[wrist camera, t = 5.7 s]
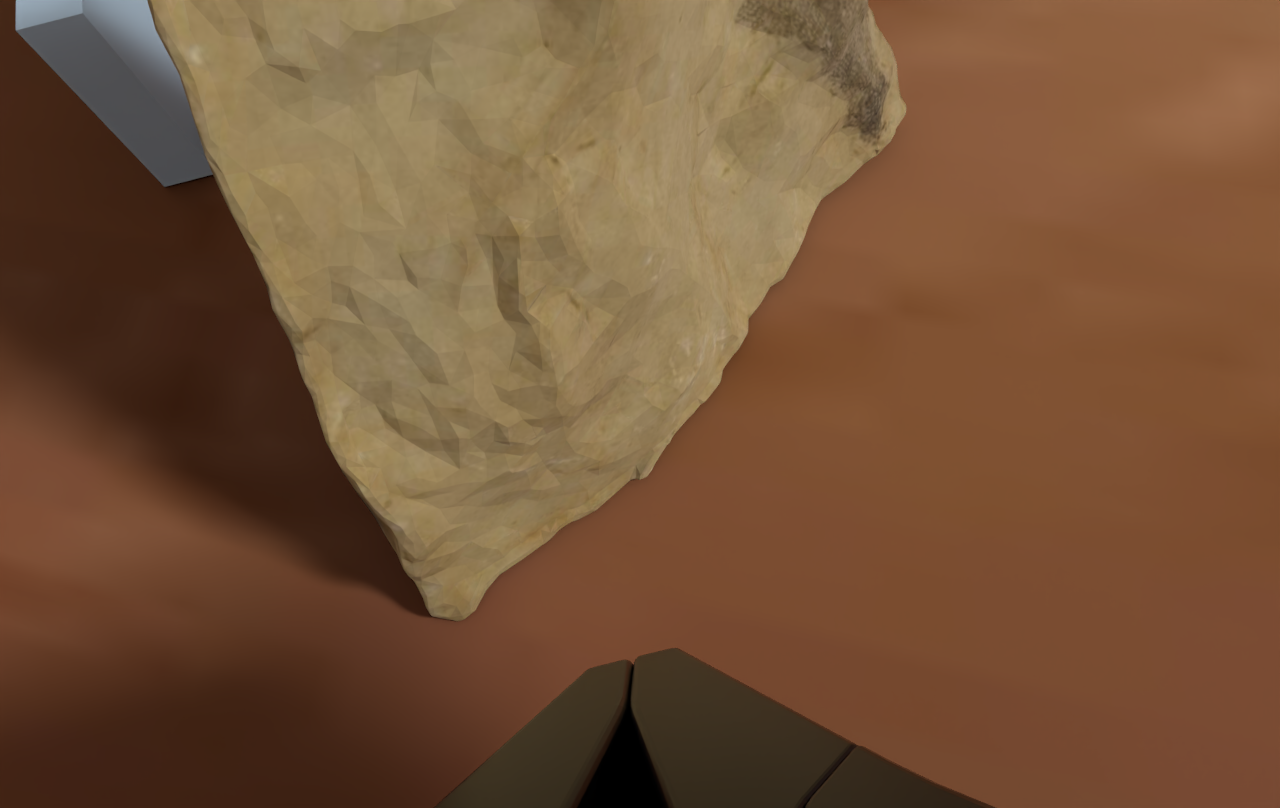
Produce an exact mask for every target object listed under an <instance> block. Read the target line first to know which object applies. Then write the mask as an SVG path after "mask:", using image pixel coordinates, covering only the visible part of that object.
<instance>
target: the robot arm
mask: <svg viewBox="0 0 1280 808" xmlns="http://www.w3.org/2000/svg"><path fill="white" fill-rule="evenodd" d="M434 808H995V807H993V806H991V805H988V804H986V803H983V802H981V801H978V800H976V799H974V798H971V797H969V796H966V795H964V794H961V793H959V792H957V791H954V790H952V789H949V788H947V787H944V786H942V785H939V784H937V783H935V782H933V781H931V780H929V779H927V778H925V777H923V776H921V775H919V774H916V773H914V772H912V771H910V770H908V769H906V768H904V767H902V766H900V765H898V764H896V763H894V762H892V761H890V760H888V759H886V758H884V757H882V756H880V755H879V754H877V753H875V752H873V751H871V750H869V749H867V748H866V747H863V746H858V745H856V744H855V743H853V742H851V741H849V740H847V739H845V738H843V737H842V736H840V735H838V734H836V733H834V732H832V731H831V730H829V729H827V728H825V727H823V726H821V725H819V724H818V723H816V722H814V721H812V720H810V719H808V718H806V717H805V716H803V715H801V714H799V713H797V712H795V711H793V710H792V709H790V708H788V707H786V706H784V705H782V704H780V703H779V702H777V701H775V700H773V699H771V698H769V697H767V696H766V695H764V694H762V693H760V692H758V691H756V690H754V689H753V688H751V687H749V686H747V685H745V684H743V683H741V682H740V681H738V680H736V679H734V678H732V677H730V676H728V675H727V674H725V673H723V672H721V671H719V670H717V669H715V668H714V667H712V666H710V665H708V664H706V663H704V662H703V661H701V660H699V659H697V658H695V657H693V656H691V655H690V654H688V653H686V652H684V651H682V650H680V649H677V648H671V649H667V650H662V651H658V652H654V653H650V654H646V655H641V656H639V657H637V659H636V660H635V662H634V665H633V664H632V663H631V662H630V661H629V660H621V661H617V662H613V663H609V664H605V665H601V666H597V667H593V668H590V669H588V670H587V671H586V672H584V673H583V674H582V675H581V676H580V677H579V678H578V679H577V680H576V681H574V682H573V683H572V684H571V685H570V686H569V687H568V688H567V689H566V690H564V691H563V692H562V693H561V694H560V695H559V696H558V697H557V698H555V699H554V700H553V701H552V702H551V703H550V704H549V705H548V706H547V707H545V708H544V709H543V710H542V711H541V712H540V713H539V714H538V715H536V716H535V717H534V718H533V719H532V720H531V721H530V722H529V723H528V724H526V725H525V726H524V727H523V728H522V729H521V730H520V731H519V732H518V733H516V734H515V735H514V736H513V737H512V738H511V739H510V740H509V741H507V742H506V743H505V744H504V745H503V746H502V747H501V748H500V749H499V750H497V751H496V752H495V753H494V754H493V755H492V756H491V757H490V758H489V759H487V760H486V761H485V762H484V763H483V764H482V765H481V766H480V767H478V768H477V769H476V770H475V771H474V772H473V773H472V774H471V775H470V776H468V777H467V778H466V779H465V780H464V781H463V782H462V783H461V784H460V785H458V786H457V787H456V788H455V789H454V790H453V791H452V792H451V793H449V794H448V795H447V796H446V797H445V798H444V799H443V800H442V801H441V802H439V803H438V804H437V805H436V806H435V807H434Z"/></svg>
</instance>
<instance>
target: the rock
mask: <svg viewBox="0 0 1280 808" xmlns="http://www.w3.org/2000/svg"><path fill="white" fill-rule="evenodd" d="M147 1H148V5H149V8H150V12H151V15H152V19H153V22H154V26H155V29H156V32H157V34H158V35H159V37H160V39H161V41H162V43H163V45H164V47H165V49H166V51H167V53H168V54H169V56H170V58H171V60H172V62H173V64H174V66H175V68H176V70H177V71H178V73H179V76H180V79H181V82H182V85H183V88H184V91H185V94H186V97H187V100H188V103H189V107H190V110H191V113H192V116H193V119H194V122H195V125H196V128H197V131H198V134H199V138H200V141H201V144H202V147H203V150H204V153H205V156H206V159H207V161H208V164H209V166H210V169H211V171H212V173H213V176H214V178H215V180H216V182H217V184H218V187H219V189H220V191H221V193H222V195H223V197H224V200H225V202H226V204H227V206H228V208H229V210H230V212H231V214H232V216H233V218H234V220H235V222H236V224H237V226H238V227H239V229H240V231H241V233H242V235H243V237H244V239H245V241H246V243H247V244H248V246H249V248H250V250H251V252H252V254H253V256H254V258H255V260H256V262H257V265H258V267H259V269H260V272H261V274H262V277H263V279H264V282H265V284H266V287H267V290H268V294H269V298H270V302H271V306H272V310H273V311H274V313H275V315H276V317H277V319H278V320H279V322H280V324H281V326H282V328H283V330H284V331H285V333H286V335H287V337H288V339H289V341H290V343H291V345H292V348H293V351H294V354H295V358H296V361H297V364H298V367H299V370H300V373H301V376H302V379H303V381H304V383H305V385H306V387H307V389H308V391H309V392H310V394H311V396H312V399H313V403H314V406H315V410H316V413H317V416H318V419H319V422H320V425H321V428H322V431H323V434H324V437H325V440H326V443H327V445H328V447H329V448H330V450H331V452H332V454H333V455H334V457H335V459H336V461H337V463H338V464H339V466H340V468H341V471H342V473H343V474H344V475H345V477H346V478H347V479H348V481H349V482H350V484H351V485H352V486H353V488H354V489H355V491H356V492H357V494H358V495H359V496H360V498H361V499H362V500H363V502H364V503H365V505H366V506H367V507H368V509H369V510H370V512H371V513H372V514H373V516H374V517H375V519H376V520H377V522H378V524H379V526H380V527H381V529H382V531H383V532H384V534H385V536H386V538H387V539H388V541H389V542H390V544H391V546H392V547H393V549H394V550H395V552H396V553H397V555H398V558H399V560H400V563H401V565H402V568H403V569H404V571H405V572H406V574H407V575H408V576H409V577H410V578H411V579H412V580H413V581H414V582H415V584H416V586H417V588H418V590H419V592H420V593H421V595H422V597H423V600H424V603H425V606H426V608H427V610H428V612H429V613H430V615H431V616H434V617H437V618H442V619H448V620H454V621H460V620H463V619H465V618H466V617H468V616H469V615H470V614H472V613H473V612H474V611H475V610H476V608H477V606H478V605H479V603H480V601H481V599H482V597H483V595H484V594H485V592H486V590H487V589H488V588H489V586H490V585H491V584H492V583H493V582H494V580H495V579H496V578H497V577H498V576H499V575H500V574H501V573H503V572H504V571H506V570H507V569H509V568H510V567H512V566H513V565H515V564H516V563H518V562H519V561H521V560H522V559H524V558H525V557H526V556H528V555H529V554H531V553H532V552H533V551H535V550H536V549H538V548H539V547H540V546H542V545H543V544H545V543H546V542H547V541H549V540H550V539H551V538H552V537H553V536H554V535H555V534H556V533H557V532H558V531H559V530H560V529H561V528H563V527H564V526H566V525H567V524H569V523H570V522H572V521H577V520H579V519H581V518H582V517H584V516H586V515H588V514H590V513H592V512H594V511H596V510H597V509H598V508H599V507H600V506H601V505H603V504H604V503H605V502H606V501H607V500H608V499H609V498H611V497H612V496H613V495H614V494H615V493H616V492H617V491H618V490H620V489H621V488H622V487H623V486H624V485H625V484H626V483H627V482H629V481H630V480H632V479H639V480H640V479H642V478H645V477H647V476H648V474H649V473H650V472H651V470H652V468H653V466H654V465H655V463H656V461H657V460H658V458H659V456H660V455H661V453H662V452H663V450H664V449H665V447H666V446H667V444H669V443H670V441H671V439H672V437H673V436H674V434H675V433H676V432H677V431H678V430H679V429H680V427H681V426H682V425H683V424H684V423H685V421H686V420H687V419H688V418H689V417H690V416H691V415H692V414H693V413H694V412H695V411H696V409H697V408H698V407H699V405H700V404H702V403H704V402H705V401H706V400H707V399H708V398H709V396H710V395H711V394H712V392H713V391H714V390H715V388H716V387H717V386H718V385H719V383H720V382H721V377H722V372H723V369H724V367H725V366H726V364H727V363H728V362H729V360H730V359H731V357H732V356H733V355H734V354H735V353H736V351H737V350H738V349H739V348H740V346H741V344H742V342H743V340H744V339H745V337H746V335H747V333H748V319H749V318H750V316H751V315H752V314H753V313H754V311H755V310H756V309H757V308H758V306H759V305H760V304H761V302H762V301H763V299H764V297H765V295H766V293H767V292H768V290H769V288H770V287H771V286H772V285H774V284H775V283H777V282H779V281H780V280H782V279H783V278H784V276H785V275H786V273H787V271H788V269H789V267H790V265H791V263H792V261H793V260H794V258H795V256H796V254H797V253H798V251H799V249H800V246H801V244H802V242H803V240H804V237H805V234H806V231H807V228H808V225H809V223H810V221H811V219H812V217H813V214H814V212H815V210H816V208H817V206H818V204H819V203H820V201H821V199H823V198H824V197H825V196H827V195H828V194H829V193H830V192H832V191H833V190H834V189H836V188H837V187H839V186H840V185H842V184H843V183H844V182H845V181H847V180H848V179H849V178H850V177H851V176H852V175H853V174H854V173H855V172H856V171H857V170H858V169H859V168H860V167H861V166H862V165H863V164H864V163H866V162H867V161H869V160H870V159H872V158H873V157H875V156H877V155H878V154H879V153H880V152H881V151H882V150H883V149H884V147H885V146H886V145H887V144H888V143H890V142H891V140H892V137H893V136H894V134H895V133H896V132H895V130H896V128H897V127H898V125H899V123H900V122H901V120H902V119H903V117H904V116H905V114H906V105H905V103H904V101H903V99H902V97H901V96H900V90H899V84H898V76H897V63H896V60H895V57H894V54H893V51H892V48H891V46H890V45H889V44H888V42H887V41H886V39H885V38H884V36H883V34H882V33H881V31H880V30H879V28H878V27H877V26H876V22H875V19H874V15H873V12H872V11H871V9H870V8H869V6H868V0H147Z"/></svg>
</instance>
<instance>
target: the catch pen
mask: <svg viewBox="0 0 1280 808" xmlns="http://www.w3.org/2000/svg"><path fill="white" fill-rule="evenodd" d="M16 31H17V32H18V34H19V35H20V36H21V37H22V38H23V39H24V40H25V41H26V42H27V43H28V44H29V45H30V46H31V47H32V48H33V49H34V50H35V51H36V52H37V53H38V55H39V56H40V57H41V58H42V59H43V60H44V61H45V62H46V63H47V64H48V65H49V66H50V67H51V68H52V69H53V70H54V71H55V72H56V73H57V74H58V76H59V77H60V78H61V79H62V80H63V81H64V82H65V83H66V84H67V85H68V86H69V87H70V88H71V89H72V90H73V91H74V92H75V93H76V94H77V95H78V97H79V98H80V99H81V100H82V101H83V102H84V103H85V104H86V105H87V106H88V107H89V108H90V109H91V110H92V111H93V112H94V113H95V114H96V115H97V116H98V118H99V119H100V120H101V121H102V122H103V123H104V124H105V125H106V126H107V127H108V128H109V129H110V130H111V131H112V132H113V133H114V134H115V135H116V136H117V137H118V139H119V140H120V141H121V142H122V143H123V144H124V145H125V146H126V147H127V148H128V149H129V150H130V151H131V152H132V153H133V154H134V155H135V156H136V157H137V158H138V160H139V161H140V162H141V163H142V164H143V165H144V166H145V167H146V168H147V169H148V170H149V171H150V172H151V173H152V174H153V175H154V176H155V177H156V178H157V179H158V181H159V182H160V183H161V184H162V185H163V186H164V187H166V186H170V185H174V184H178V183H182V182H186V181H190V180H194V179H197V178H201V177H205V176H209V175H213V173H212V171H211V169H210V166H209V164H208V161H207V159H206V156H205V153H204V150H203V147H202V144H201V141H200V138H199V134H198V131H197V128H196V125H195V122H194V119H193V116H192V113H191V110H190V107H189V103H188V100H187V97H186V94H185V91H184V88H183V85H182V82H181V79H180V76H179V73H178V71H177V70H176V68H175V66H174V64H173V62H172V60H171V58H170V56H169V54H168V53H167V51H166V49H165V47H164V45H163V43H162V41H161V39H160V37H159V35H158V34H157V32H156V29H155V26H154V22H153V19H152V15H151V12H150V8H149V5H148V1H147V0H16Z"/></svg>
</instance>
